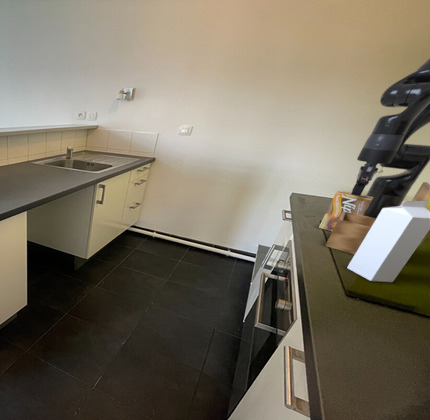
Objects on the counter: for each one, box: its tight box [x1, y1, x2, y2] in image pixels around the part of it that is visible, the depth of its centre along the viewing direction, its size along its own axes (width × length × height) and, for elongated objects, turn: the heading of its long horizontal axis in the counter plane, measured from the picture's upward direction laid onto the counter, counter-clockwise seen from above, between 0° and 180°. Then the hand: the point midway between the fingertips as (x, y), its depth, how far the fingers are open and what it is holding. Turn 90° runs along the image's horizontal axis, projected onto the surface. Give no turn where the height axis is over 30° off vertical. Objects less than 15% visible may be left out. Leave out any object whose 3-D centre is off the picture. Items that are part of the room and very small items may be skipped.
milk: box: [346, 200, 430, 283], centre depth 64 cm, size 6×6×22 cm
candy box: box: [318, 190, 374, 232], centre depth 92 cm, size 9×4×15 cm, turn 33°
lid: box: [411, 181, 430, 202], centre depth 70 cm, size 13×15×5 cm
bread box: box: [325, 211, 377, 256], centre depth 81 cm, size 13×15×10 cm
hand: (355, 193), depth 89 cm, fingers open, 8 cm apart
